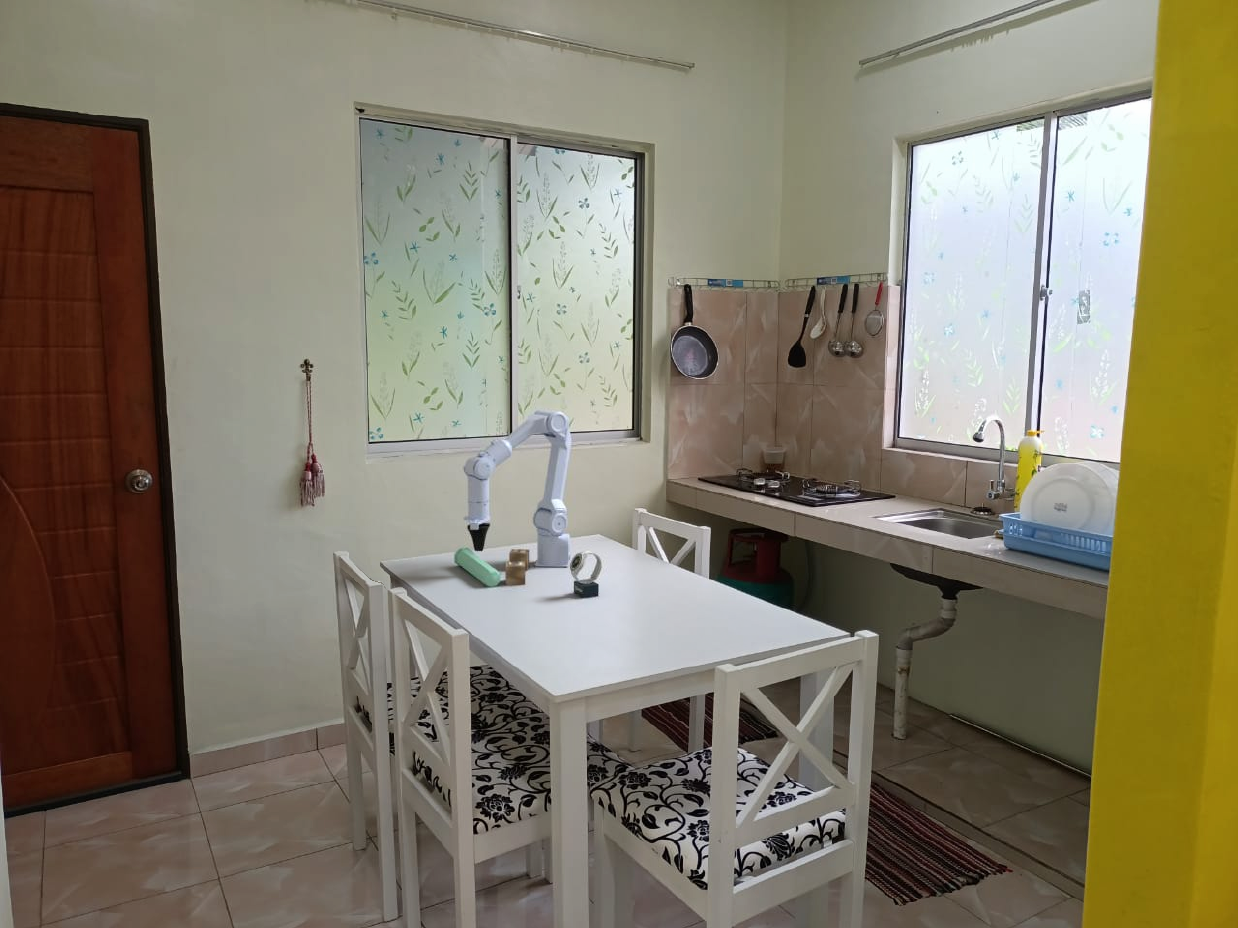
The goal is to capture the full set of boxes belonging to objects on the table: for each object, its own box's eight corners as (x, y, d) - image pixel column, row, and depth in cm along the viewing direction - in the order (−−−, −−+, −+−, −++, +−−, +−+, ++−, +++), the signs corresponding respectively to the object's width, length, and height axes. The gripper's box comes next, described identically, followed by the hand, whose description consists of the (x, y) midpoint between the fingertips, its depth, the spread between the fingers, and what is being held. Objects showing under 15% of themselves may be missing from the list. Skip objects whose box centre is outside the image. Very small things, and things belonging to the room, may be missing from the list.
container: (499, 564, 235) (469, 543, 257) (479, 575, 233) (450, 552, 254) (508, 584, 237) (476, 561, 259) (488, 594, 234) (458, 570, 256)
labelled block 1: (529, 566, 257) (529, 548, 256) (527, 571, 252) (527, 552, 252) (511, 566, 257) (511, 548, 257) (509, 570, 252) (509, 552, 252)
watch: (566, 593, 230) (567, 551, 229) (595, 590, 234) (595, 548, 232) (575, 599, 225) (576, 555, 224) (604, 595, 229) (605, 552, 228)
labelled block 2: (524, 579, 243) (524, 560, 242) (525, 584, 238) (525, 565, 237) (505, 580, 242) (505, 560, 241) (506, 585, 237) (506, 565, 237)
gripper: (468, 496, 251) (469, 544, 253) (458, 505, 237) (459, 556, 239) (494, 496, 251) (494, 544, 253) (485, 506, 237) (485, 557, 239)
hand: (478, 550), depth 246 cm, fingers closed
